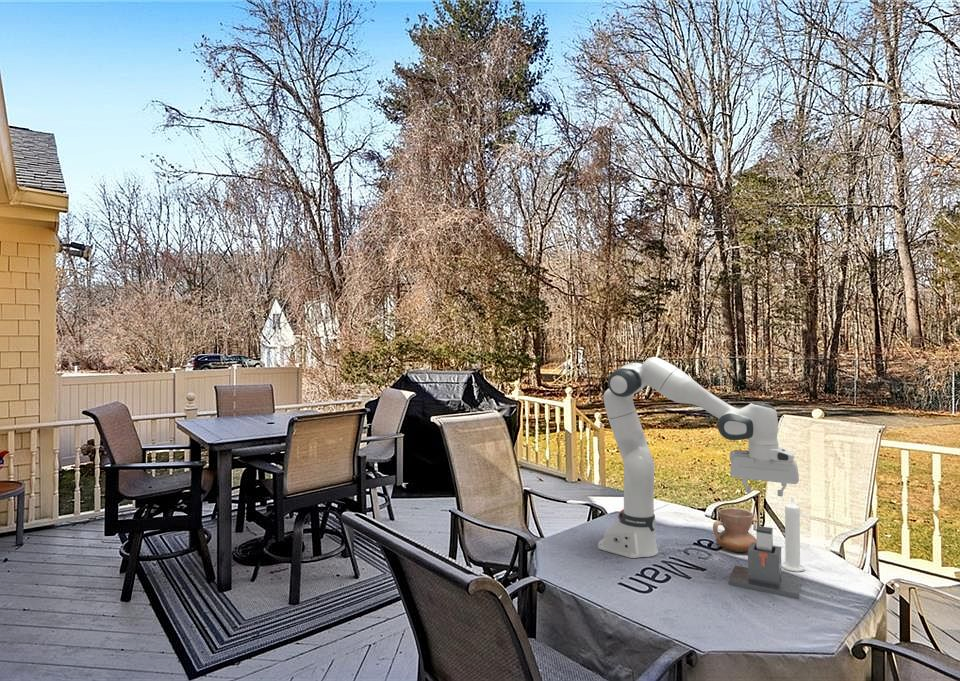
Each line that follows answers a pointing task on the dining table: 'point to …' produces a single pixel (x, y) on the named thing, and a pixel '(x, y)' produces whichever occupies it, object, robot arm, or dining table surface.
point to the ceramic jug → (735, 529)
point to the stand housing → (765, 574)
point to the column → (764, 539)
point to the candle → (792, 538)
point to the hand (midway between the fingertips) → (764, 494)
